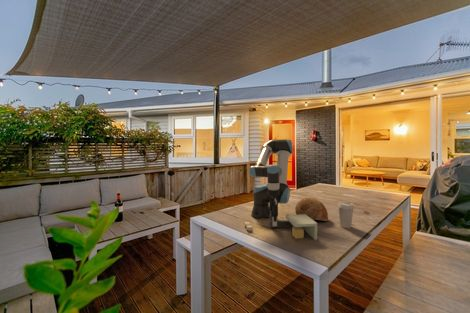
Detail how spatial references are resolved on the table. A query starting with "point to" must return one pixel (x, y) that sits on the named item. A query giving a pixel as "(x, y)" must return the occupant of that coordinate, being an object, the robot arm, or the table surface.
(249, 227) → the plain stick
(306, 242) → the table surface
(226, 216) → the table surface
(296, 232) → the cube
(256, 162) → the robot arm
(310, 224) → the beige angled piece
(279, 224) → the crook
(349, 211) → the coffee cup
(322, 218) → the seashell
